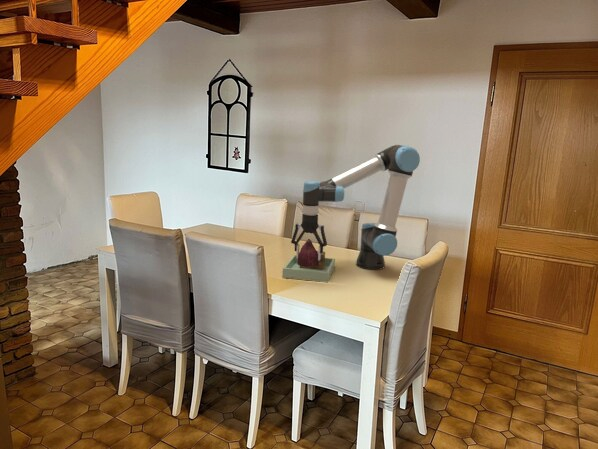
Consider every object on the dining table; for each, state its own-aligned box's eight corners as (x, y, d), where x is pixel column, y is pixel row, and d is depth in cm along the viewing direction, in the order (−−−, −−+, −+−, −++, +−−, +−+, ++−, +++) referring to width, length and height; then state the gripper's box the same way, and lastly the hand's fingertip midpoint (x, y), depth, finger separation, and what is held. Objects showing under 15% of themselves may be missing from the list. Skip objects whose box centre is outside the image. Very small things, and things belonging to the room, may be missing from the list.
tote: (334, 267, 240) (335, 258, 239) (327, 282, 217) (328, 272, 216) (293, 264, 244) (293, 254, 243) (282, 278, 221) (282, 268, 220)
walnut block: (324, 266, 239) (325, 251, 237) (322, 270, 233) (323, 254, 232) (301, 264, 241) (302, 249, 240) (299, 267, 236) (300, 252, 234)
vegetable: (315, 274, 221) (319, 247, 214) (294, 269, 222) (298, 242, 215) (320, 262, 230) (324, 236, 223) (300, 258, 231) (303, 232, 224)
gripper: (334, 214, 221) (332, 258, 226) (289, 210, 226) (287, 254, 230) (332, 217, 214) (330, 262, 219) (285, 213, 218) (284, 258, 223)
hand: (308, 258), depth 225 cm, fingers closed on vegetable, 10 cm apart
